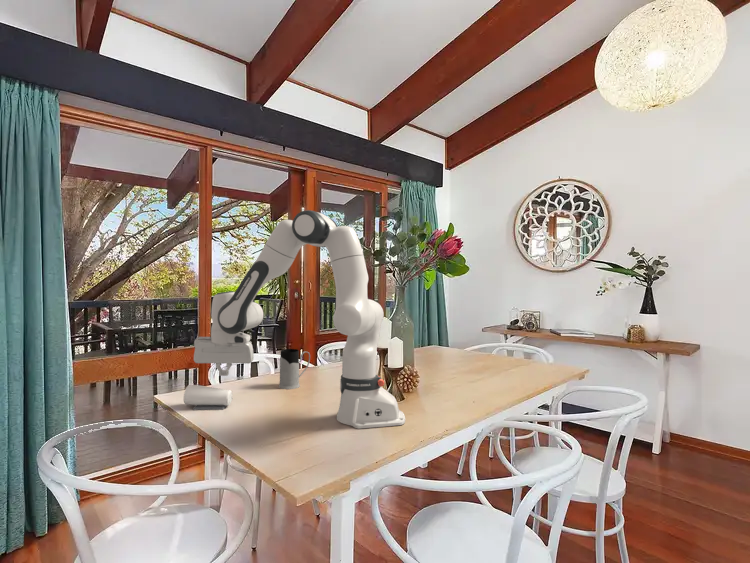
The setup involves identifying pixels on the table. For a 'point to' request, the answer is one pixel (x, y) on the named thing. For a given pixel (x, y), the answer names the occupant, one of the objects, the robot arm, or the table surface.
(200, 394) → the drinking glass
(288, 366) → the grey mug
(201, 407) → the mat
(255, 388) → the table surface
